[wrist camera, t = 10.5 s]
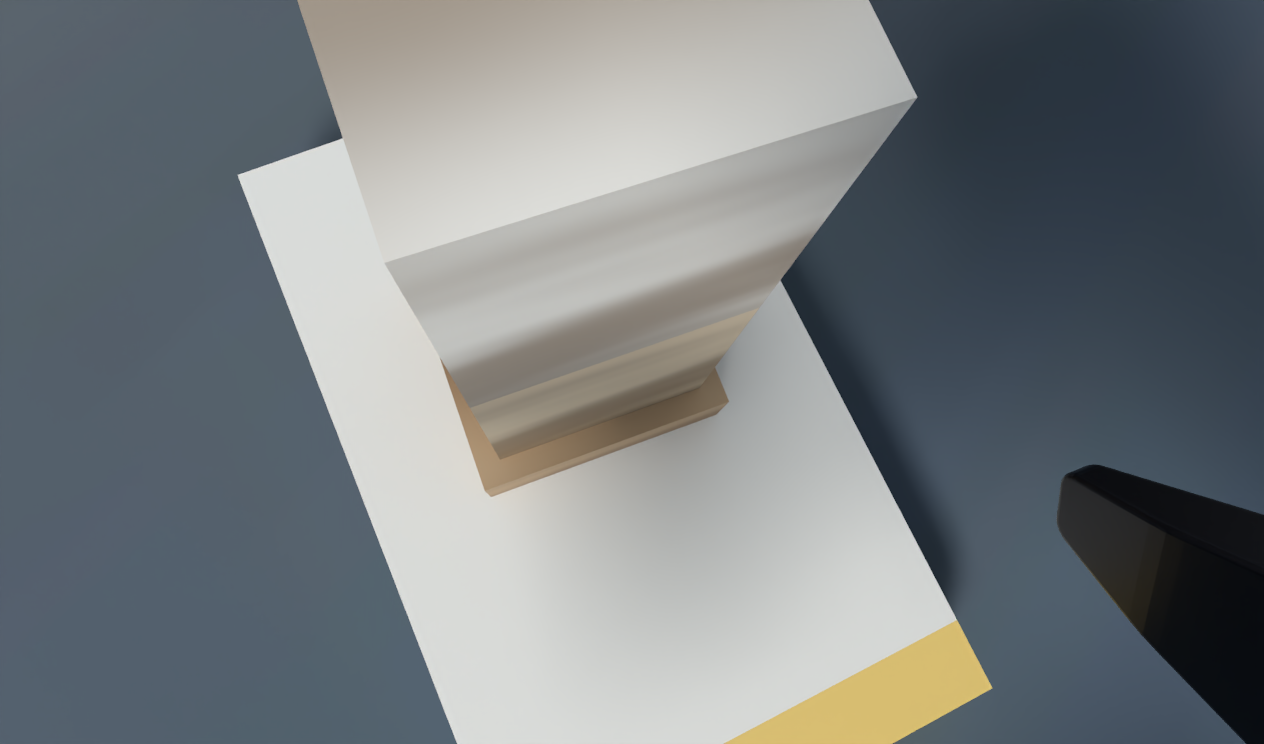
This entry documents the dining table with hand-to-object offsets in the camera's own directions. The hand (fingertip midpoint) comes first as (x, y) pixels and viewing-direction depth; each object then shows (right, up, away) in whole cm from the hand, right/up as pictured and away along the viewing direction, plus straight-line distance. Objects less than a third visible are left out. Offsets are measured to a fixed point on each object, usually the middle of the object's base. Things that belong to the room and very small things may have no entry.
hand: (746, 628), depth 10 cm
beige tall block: (-3, +4, +9) cm, 10 cm away
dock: (-2, +1, +12) cm, 12 cm away
